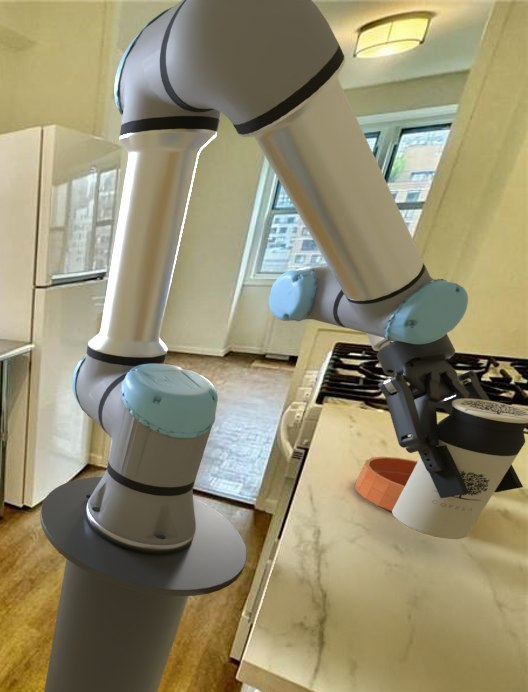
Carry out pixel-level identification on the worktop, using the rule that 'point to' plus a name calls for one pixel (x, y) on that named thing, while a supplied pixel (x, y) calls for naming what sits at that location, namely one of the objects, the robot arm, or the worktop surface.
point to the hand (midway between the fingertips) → (481, 492)
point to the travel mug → (464, 467)
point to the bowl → (384, 480)
